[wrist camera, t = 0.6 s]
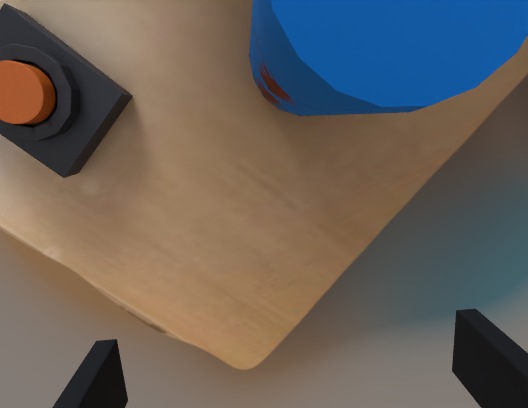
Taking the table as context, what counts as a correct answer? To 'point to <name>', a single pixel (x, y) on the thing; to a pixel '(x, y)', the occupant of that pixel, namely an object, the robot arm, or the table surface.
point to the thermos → (378, 51)
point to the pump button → (24, 93)
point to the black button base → (60, 96)
